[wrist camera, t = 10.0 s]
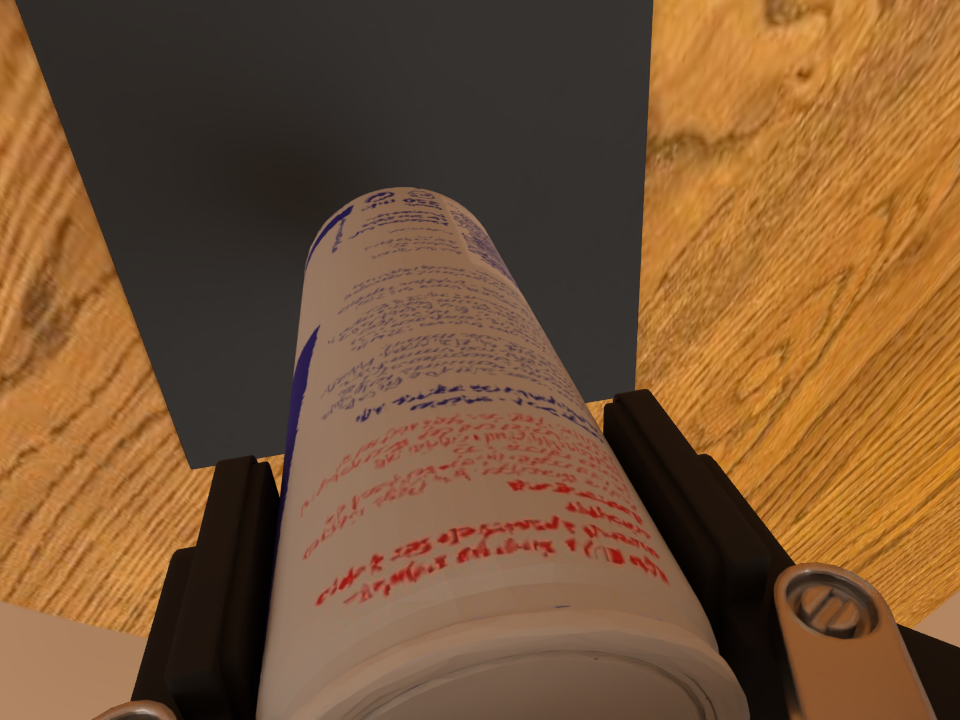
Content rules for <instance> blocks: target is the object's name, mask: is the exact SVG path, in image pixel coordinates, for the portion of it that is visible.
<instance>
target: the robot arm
mask: <svg viewBox="0 0 960 720" xmlns="http://www.w3.org/2000/svg"><path fill="white" fill-rule="evenodd" d="M603 435H604V437H605V439H606V440H607V442H608V444H609V446H610V447H611V449H612V451H613V452H614V454H615V456H616V458H617V459H618V461H619V463H620V465H621V466H622V468H623V470H624V472H625V473H626V475H627V477H628V479H629V480H630V482H631V484H632V485H633V487H634V489H635V491H636V492H637V494H638V496H639V498H640V499H641V501H642V503H643V505H644V506H645V508H646V510H647V511H648V513H649V515H650V517H651V518H652V520H653V522H654V524H655V525H656V527H657V529H658V531H659V532H660V534H661V536H662V537H663V539H664V541H665V543H666V544H667V546H668V548H669V550H670V551H671V553H672V555H673V557H674V558H675V560H676V562H677V564H678V565H679V567H680V569H681V570H682V572H683V574H684V576H685V577H686V579H687V581H688V583H689V584H690V586H691V588H692V590H693V591H694V593H695V595H696V596H697V598H698V600H699V602H700V604H701V606H702V608H703V610H704V612H705V614H706V616H707V618H708V620H709V622H710V625H711V628H712V631H713V634H714V636H715V639H716V642H717V645H718V650H719V655H720V656H721V657H722V658H723V659H724V660H725V661H726V662H727V664H728V665H729V667H730V668H731V670H732V671H733V673H734V675H735V676H736V678H737V680H738V682H739V684H740V686H741V688H742V690H743V692H744V694H745V696H746V699H747V703H748V708H749V713H750V720H960V648H959V647H957V646H954V645H951V644H949V643H946V642H944V641H941V640H938V639H936V638H933V637H931V636H928V635H925V634H923V633H920V632H918V631H915V630H912V629H910V628H907V627H905V626H902V625H899V624H897V623H896V622H895V620H894V617H893V615H892V613H891V610H890V608H889V606H888V605H887V603H886V601H885V600H884V598H883V597H882V595H881V594H880V593H879V592H878V591H877V590H876V589H875V588H874V587H873V586H872V585H871V584H870V583H869V582H868V581H866V580H864V579H863V578H861V577H859V576H858V575H856V574H854V573H853V572H851V571H848V570H846V569H843V568H840V567H838V566H835V565H830V564H824V563H818V562H815V563H800V564H797V565H796V564H795V563H794V562H793V560H792V559H791V558H790V557H789V555H788V554H787V553H786V551H785V550H784V549H783V548H782V546H781V545H780V544H779V542H778V541H777V540H776V539H775V537H774V536H773V535H772V533H771V532H770V531H769V529H768V528H767V527H766V526H765V524H764V523H763V522H762V520H761V519H760V518H759V517H758V515H757V514H756V513H755V511H754V510H753V509H752V508H751V506H750V505H749V504H748V502H747V501H746V500H745V498H744V497H743V496H742V495H741V493H740V492H739V491H738V489H737V488H736V487H735V486H734V484H733V483H732V482H731V480H730V479H729V478H728V477H727V475H726V474H725V473H724V471H723V470H722V469H721V467H720V466H719V465H718V464H717V462H716V461H715V460H714V459H713V458H712V457H711V456H709V455H707V454H700V455H697V453H696V452H695V451H694V449H693V448H692V447H691V445H690V444H689V443H688V441H687V440H686V439H685V437H684V436H683V435H682V433H681V432H680V431H679V429H678V428H677V427H676V425H675V424H674V423H673V421H672V420H671V419H670V417H669V416H668V415H667V413H666V412H665V411H664V409H663V408H662V406H661V405H660V404H659V402H658V401H657V400H656V398H655V397H654V396H653V394H652V393H651V392H650V391H649V390H648V389H642V390H636V391H630V392H624V393H618V394H616V395H614V398H613V403H608V404H606V405H605V407H604V425H603ZM279 502H280V497H279V493H278V490H277V487H276V483H275V480H274V477H273V473H272V470H271V467H270V464H269V463H268V462H261V463H258V462H257V459H256V458H255V456H253V455H250V456H244V457H238V458H232V459H226V460H220V461H218V462H217V465H216V468H215V472H214V476H213V480H212V484H211V488H210V492H209V496H208V500H207V504H206V508H205V512H204V516H203V520H202V524H201V528H200V532H199V536H198V540H197V544H196V546H195V547H189V548H184V549H178V550H177V551H176V552H175V553H174V554H173V556H172V558H171V561H170V564H169V567H168V571H167V574H166V578H165V581H164V585H163V589H162V592H161V596H160V599H159V603H158V606H157V610H156V613H155V617H154V620H153V624H152V627H151V631H150V634H149V638H148V641H147V645H146V648H145V652H144V655H143V659H142V662H141V666H140V669H139V673H138V676H137V680H136V683H135V687H134V690H133V694H132V697H131V701H130V702H127V703H124V704H121V705H118V706H116V707H113V708H110V709H109V710H107V711H105V712H104V713H102V714H101V715H99V716H97V717H95V718H94V719H92V720H255V719H256V709H257V700H258V691H259V682H260V673H261V664H262V655H263V646H264V637H265V628H266V619H267V610H268V601H269V592H270V583H271V574H272V565H273V556H274V547H275V538H276V529H277V520H278V511H279Z"/></svg>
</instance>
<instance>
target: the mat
mask: <svg viewBox="0 0 960 720" xmlns="http://www.w3.org/2000/svg"><path fill="white" fill-rule="evenodd" d="M15 1H16V4H17V7H18V9H19V12H20V15H21V17H22V20H23V23H24V25H25V28H26V31H27V33H28V36H29V39H30V41H31V44H32V47H33V49H34V52H35V55H36V57H37V60H38V63H39V65H40V68H41V71H42V73H43V76H44V79H45V81H46V84H47V87H48V89H49V92H50V95H51V97H52V100H53V103H54V105H55V108H56V111H57V113H58V116H59V119H60V121H61V124H62V127H63V129H64V132H65V135H66V137H67V140H68V143H69V145H70V148H71V151H72V153H73V156H74V159H75V161H76V164H77V167H78V169H79V172H80V175H81V177H82V180H83V183H84V185H85V188H86V191H87V193H88V196H89V199H90V201H91V204H92V207H93V209H94V212H95V215H96V217H97V220H98V223H99V225H100V228H101V231H102V233H103V236H104V239H105V241H106V244H107V247H108V249H109V252H110V255H111V257H112V260H113V263H114V265H115V268H116V271H117V273H118V276H119V279H120V281H121V284H122V287H123V289H124V292H125V295H126V297H127V300H128V303H129V305H130V308H131V311H132V313H133V316H134V319H135V321H136V324H137V327H138V329H139V332H140V335H141V337H142V340H143V343H144V345H145V348H146V351H147V353H148V356H149V359H150V361H151V364H152V367H153V369H154V372H155V375H156V377H157V380H158V383H159V385H160V388H161V391H162V393H163V396H164V399H165V401H166V404H167V407H168V410H169V412H170V415H171V418H172V420H173V423H174V426H175V428H176V431H177V434H178V436H179V439H180V442H181V444H182V447H183V450H184V452H185V455H186V458H187V460H188V463H189V466H190V468H191V469H198V468H204V467H210V466H216V465H217V462H218V461H220V460H226V459H232V458H238V457H244V456H250V455H253V456H255V458H256V459H257V458H263V457H269V456H275V455H281V454H285V447H286V438H287V429H288V420H289V411H290V402H291V393H292V384H293V375H294V366H295V357H296V348H297V339H298V330H299V321H300V312H301V303H302V294H303V285H304V268H305V264H306V259H307V255H308V252H309V249H310V247H311V244H312V242H313V240H314V238H315V237H316V235H317V233H318V231H319V230H320V229H321V227H322V226H323V225H324V223H325V222H326V221H327V220H328V219H329V218H330V217H331V216H332V215H333V214H334V213H335V212H336V211H338V210H339V209H340V208H342V207H343V206H344V205H345V204H347V203H349V202H350V201H352V200H354V199H356V198H358V197H360V196H362V195H365V194H368V193H370V192H373V191H377V190H382V189H387V188H395V187H412V188H420V189H425V190H429V191H433V192H436V193H439V194H442V195H444V196H446V197H448V198H451V199H452V200H454V201H456V202H457V203H459V204H460V205H462V206H463V207H465V208H466V209H467V210H468V211H469V212H470V213H472V214H473V215H474V216H475V217H476V219H477V220H478V221H479V222H480V223H481V225H482V226H483V227H484V229H485V230H486V232H487V234H488V236H489V237H490V239H491V241H492V243H493V244H494V246H495V248H496V249H497V251H498V253H499V255H500V256H501V258H502V260H503V262H504V263H505V265H506V267H507V269H508V270H509V272H510V274H511V276H512V277H513V279H514V281H515V282H516V284H517V286H518V288H519V289H520V291H521V293H522V295H523V296H524V298H525V300H526V302H527V303H528V305H529V307H530V308H531V310H532V312H533V314H534V315H535V317H536V319H537V321H538V322H539V324H540V326H541V328H542V329H543V331H544V333H545V334H546V336H547V338H548V340H549V341H550V343H551V345H552V347H553V348H554V350H555V352H556V354H557V355H558V357H559V359H560V361H561V362H562V364H563V366H564V367H565V369H566V371H567V373H568V374H569V376H570V378H571V380H572V381H573V383H574V385H575V387H576V388H577V390H578V392H579V393H580V395H581V397H582V399H583V400H584V402H585V403H588V402H594V401H600V400H606V399H612V398H614V395H616V394H618V393H624V392H630V391H635V371H636V351H637V330H638V309H639V288H640V267H641V246H642V225H643V204H644V183H645V162H646V141H647V120H648V99H649V78H650V57H651V36H652V16H653V0H15Z"/></svg>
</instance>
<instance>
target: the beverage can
mask: <svg viewBox="0 0 960 720" xmlns="http://www.w3.org/2000/svg"><path fill="white" fill-rule="evenodd" d="M255 720H750V713H749V708H748V703H747V699H746V696H745V694H744V692H743V690H742V688H741V686H740V684H739V682H738V680H737V678H736V676H735V675H734V673H733V671H732V670H731V668H730V667H729V665H728V664H727V662H726V661H725V660H724V659H723V658H722V657H721V656H720V655H719V650H718V645H717V642H716V639H715V636H714V634H713V631H712V628H711V625H710V622H709V620H708V618H707V616H706V614H705V612H704V610H703V608H702V606H701V604H700V602H699V600H698V598H697V596H696V595H695V593H694V591H693V590H692V588H691V586H690V584H689V583H688V581H687V579H686V577H685V576H684V574H683V572H682V570H681V569H680V567H679V565H678V564H677V562H676V560H675V558H674V557H673V555H672V553H671V551H670V550H669V548H668V546H667V544H666V543H665V541H664V539H663V537H662V536H661V534H660V532H659V531H658V529H657V527H656V525H655V524H654V522H653V520H652V518H651V517H650V515H649V513H648V511H647V510H646V508H645V506H644V505H643V503H642V501H641V499H640V498H639V496H638V494H637V492H636V491H635V489H634V487H633V485H632V484H631V482H630V480H629V479H628V477H627V475H626V473H625V472H624V470H623V468H622V466H621V465H620V463H619V461H618V459H617V458H616V456H615V454H614V452H613V451H612V449H611V447H610V446H609V444H608V442H607V440H606V439H605V437H604V435H603V433H602V432H601V430H600V428H599V426H598V425H597V423H596V421H595V420H594V418H593V416H592V414H591V413H590V411H589V409H588V407H587V406H586V404H585V402H584V400H583V399H582V397H581V395H580V393H579V392H578V390H577V388H576V387H575V385H574V383H573V381H572V380H571V378H570V376H569V374H568V373H567V371H566V369H565V367H564V366H563V364H562V362H561V361H560V359H559V357H558V355H557V354H556V352H555V350H554V348H553V347H552V345H551V343H550V341H549V340H548V338H547V336H546V334H545V333H544V331H543V329H542V328H541V326H540V324H539V322H538V321H537V319H536V317H535V315H534V314H533V312H532V310H531V308H530V307H529V305H528V303H527V302H526V300H525V298H524V296H523V295H522V293H521V291H520V289H519V288H518V286H517V284H516V282H515V281H514V279H513V277H512V276H511V274H510V272H509V270H508V269H507V267H506V265H505V263H504V262H503V260H502V258H501V256H500V255H499V253H498V251H497V249H496V248H495V246H494V244H493V243H492V241H491V239H490V237H489V236H488V234H487V232H486V230H485V229H484V227H483V226H482V225H481V223H480V222H479V221H478V220H477V219H476V217H475V216H474V215H473V214H472V213H470V212H469V211H468V210H467V209H466V208H465V207H463V206H462V205H460V204H459V203H457V202H456V201H454V200H452V199H451V198H448V197H446V196H444V195H442V194H439V193H436V192H433V191H429V190H425V189H420V188H412V187H395V188H387V189H382V190H377V191H373V192H370V193H368V194H365V195H362V196H360V197H358V198H356V199H354V200H352V201H350V202H349V203H347V204H345V205H344V206H343V207H342V208H340V209H339V210H338V211H336V212H335V213H334V214H333V215H332V216H331V217H330V218H329V219H328V220H327V221H326V222H325V223H324V225H323V226H322V227H321V229H320V230H319V231H318V233H317V235H316V237H315V238H314V240H313V242H312V244H311V247H310V249H309V252H308V255H307V259H306V264H305V268H304V285H303V294H302V303H301V312H300V321H299V330H298V339H297V348H296V357H295V366H294V375H293V384H292V393H291V402H290V411H289V420H288V429H287V438H286V447H285V456H284V465H283V474H282V483H281V492H280V502H279V511H278V520H277V529H276V538H275V547H274V556H273V565H272V574H271V583H270V592H269V601H268V610H267V619H266V628H265V637H264V646H263V655H262V664H261V673H260V682H259V691H258V700H257V709H256V719H255Z"/></svg>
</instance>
